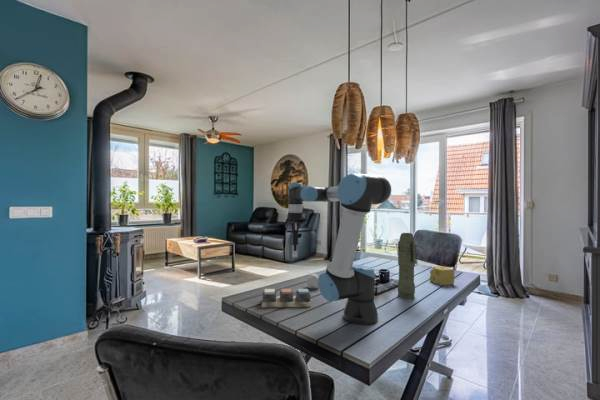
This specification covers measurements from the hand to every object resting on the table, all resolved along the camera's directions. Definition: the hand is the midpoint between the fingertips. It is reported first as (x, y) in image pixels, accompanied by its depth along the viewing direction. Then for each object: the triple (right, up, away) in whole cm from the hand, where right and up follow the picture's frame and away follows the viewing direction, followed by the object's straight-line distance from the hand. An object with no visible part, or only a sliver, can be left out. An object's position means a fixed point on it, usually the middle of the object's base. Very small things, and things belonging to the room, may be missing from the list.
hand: (294, 256), depth 152 cm
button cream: (-13, -19, -8) cm, 24 cm away
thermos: (+61, -24, +6) cm, 66 cm away
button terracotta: (-4, -19, -7) cm, 20 cm away
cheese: (+95, -24, +34) cm, 104 cm away
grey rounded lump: (+11, -23, +20) cm, 32 cm away
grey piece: (-4, -22, -7) cm, 24 cm away
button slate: (+4, -19, -7) cm, 20 cm away
